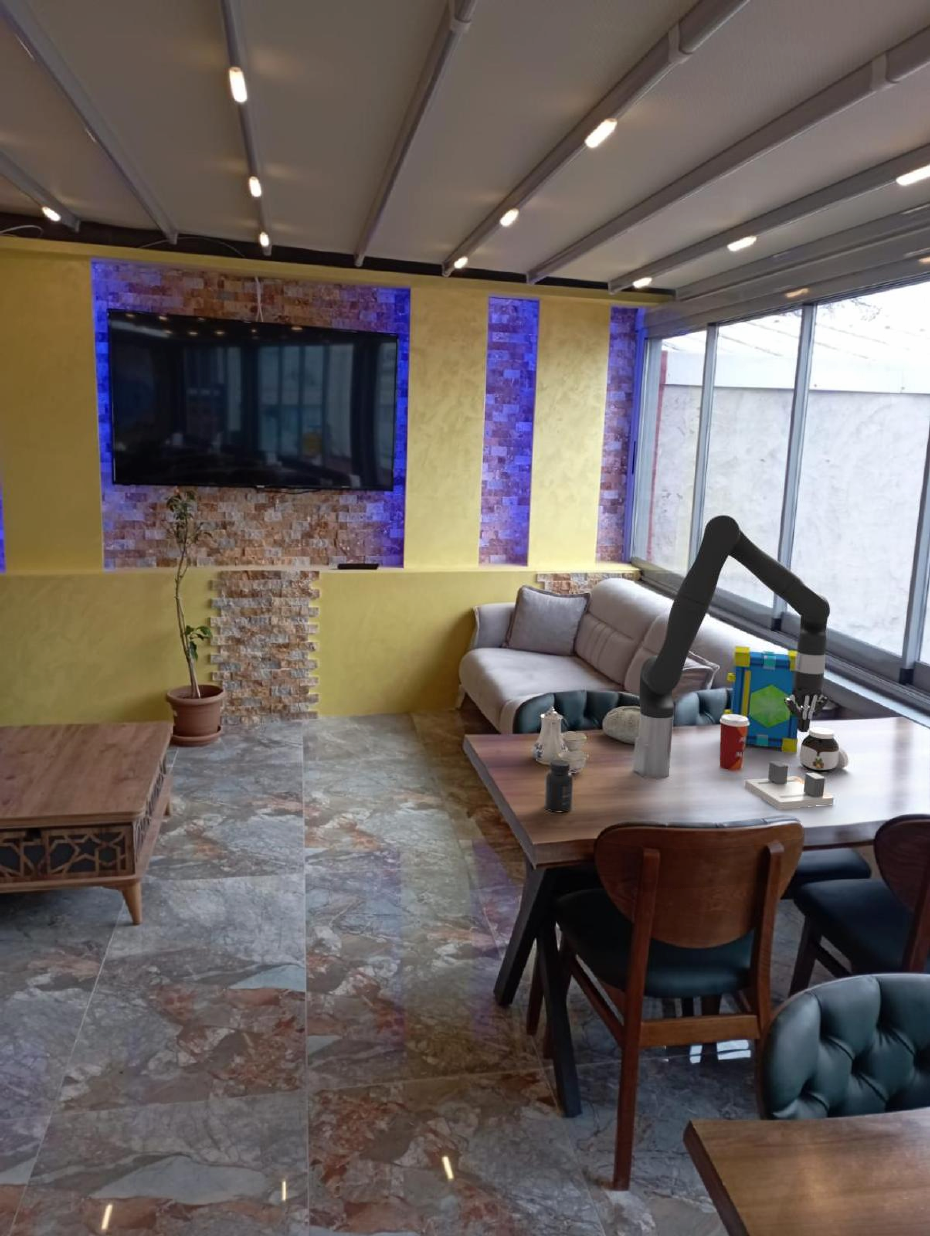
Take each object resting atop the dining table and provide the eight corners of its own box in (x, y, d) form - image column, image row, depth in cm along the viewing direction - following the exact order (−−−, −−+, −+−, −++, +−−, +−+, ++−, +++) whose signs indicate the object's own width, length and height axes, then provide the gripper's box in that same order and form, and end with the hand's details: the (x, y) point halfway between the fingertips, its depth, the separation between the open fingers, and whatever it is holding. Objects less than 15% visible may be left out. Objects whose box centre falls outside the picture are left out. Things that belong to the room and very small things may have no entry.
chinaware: (592, 785, 244) (602, 727, 241) (532, 777, 244) (541, 719, 241) (580, 751, 272) (589, 699, 269) (526, 744, 272) (534, 692, 269)
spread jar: (795, 767, 259) (799, 729, 257) (809, 758, 267) (813, 721, 265) (837, 778, 251) (841, 739, 249) (850, 769, 259) (855, 730, 257)
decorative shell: (621, 751, 269) (623, 719, 267) (590, 733, 285) (592, 703, 283) (670, 745, 276) (672, 714, 274) (637, 728, 292) (639, 699, 290)
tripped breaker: (776, 784, 239) (778, 766, 238) (768, 779, 242) (769, 761, 242) (786, 783, 239) (788, 765, 239) (777, 778, 243) (779, 760, 242)
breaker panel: (779, 809, 227) (780, 802, 227) (744, 786, 242) (745, 779, 242) (832, 805, 231) (833, 797, 231) (795, 783, 246) (795, 776, 246)
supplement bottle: (569, 803, 227) (572, 758, 225) (573, 813, 220) (576, 767, 218) (542, 802, 226) (545, 757, 224) (546, 813, 220) (548, 767, 218)
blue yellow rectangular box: (800, 755, 270) (810, 659, 264) (722, 747, 275) (730, 653, 270) (796, 741, 283) (805, 650, 278) (721, 733, 289) (729, 644, 284)
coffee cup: (746, 773, 253) (751, 722, 250) (716, 770, 254) (721, 720, 252) (743, 763, 261) (748, 714, 258) (714, 760, 262) (719, 712, 260)
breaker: (813, 797, 230) (815, 778, 229) (803, 791, 234) (805, 773, 233) (823, 796, 231) (825, 778, 230) (813, 790, 235) (815, 772, 234)
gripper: (796, 673, 232) (790, 737, 235) (839, 671, 235) (832, 734, 238) (779, 666, 239) (773, 728, 242) (821, 665, 242) (814, 726, 246)
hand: (802, 731), depth 240 cm, fingers closed
